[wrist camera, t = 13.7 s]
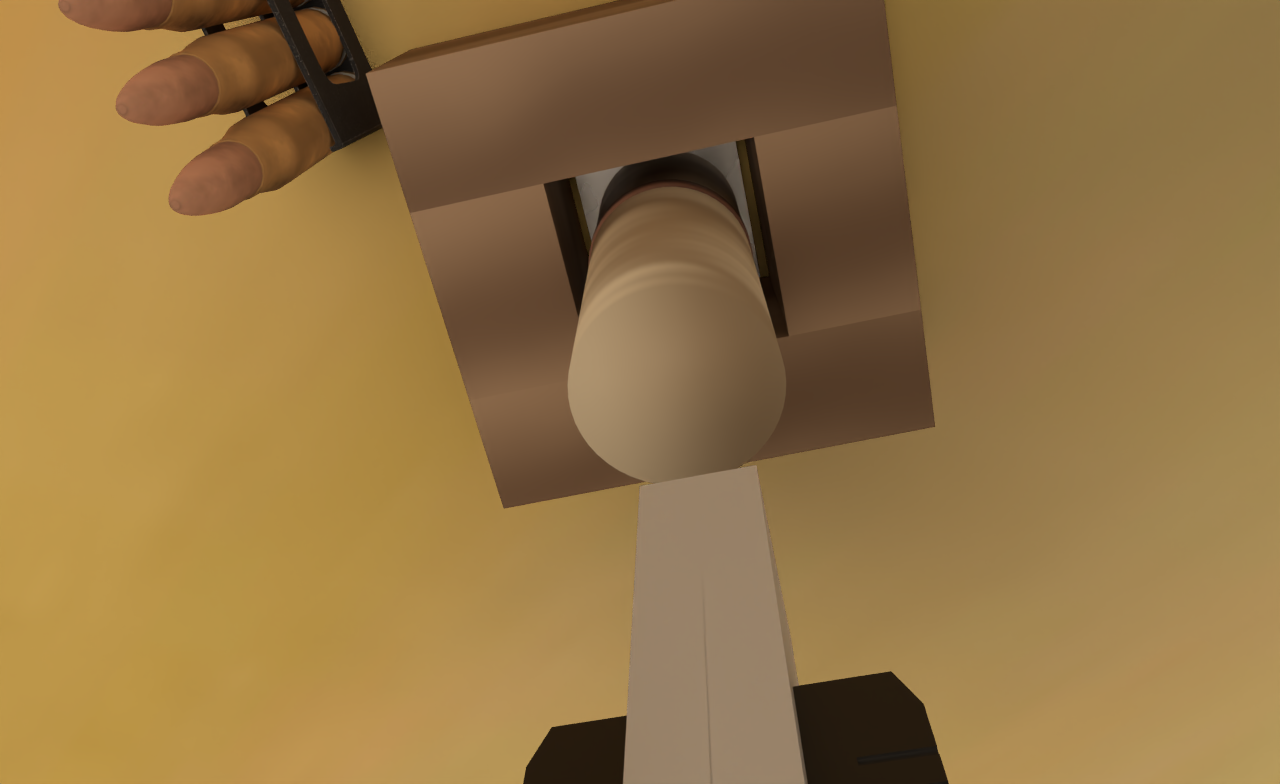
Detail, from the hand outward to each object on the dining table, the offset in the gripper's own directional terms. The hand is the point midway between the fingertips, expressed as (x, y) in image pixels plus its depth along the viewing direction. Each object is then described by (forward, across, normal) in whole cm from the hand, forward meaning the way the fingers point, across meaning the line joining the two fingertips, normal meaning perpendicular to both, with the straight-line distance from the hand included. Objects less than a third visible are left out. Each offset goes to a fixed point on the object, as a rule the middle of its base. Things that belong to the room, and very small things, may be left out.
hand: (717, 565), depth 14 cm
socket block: (+19, -1, 0) cm, 19 cm away
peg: (+18, -1, 0) cm, 18 cm away
